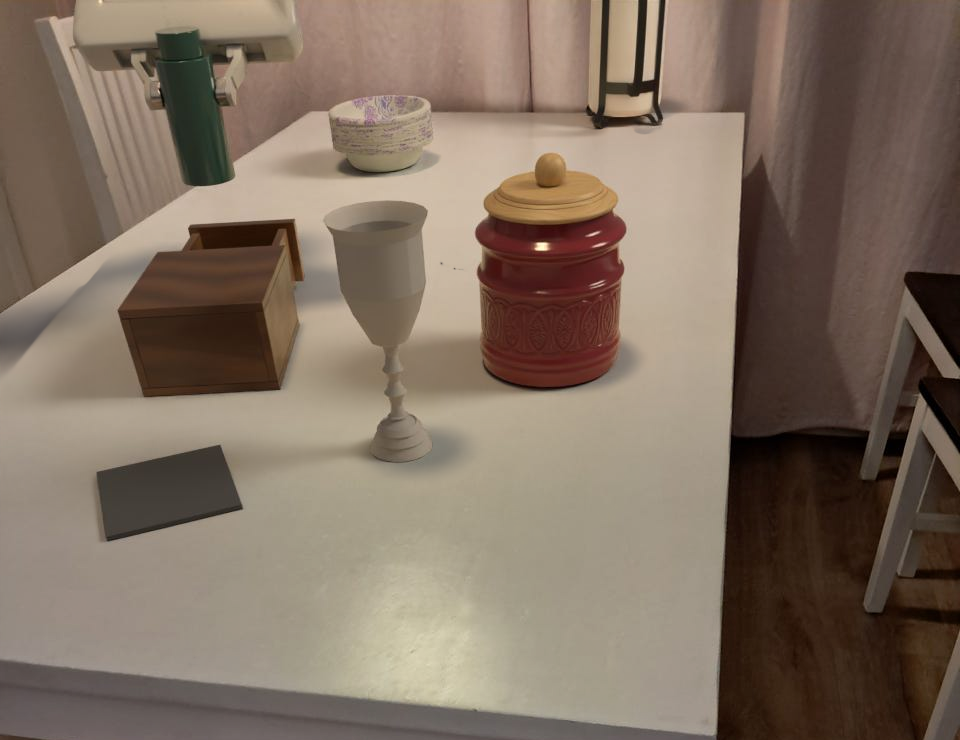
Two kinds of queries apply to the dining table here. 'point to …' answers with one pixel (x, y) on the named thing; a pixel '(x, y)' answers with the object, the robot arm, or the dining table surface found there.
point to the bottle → (193, 107)
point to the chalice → (385, 301)
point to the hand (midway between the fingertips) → (191, 104)
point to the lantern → (626, 59)
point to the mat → (166, 492)
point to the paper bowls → (381, 131)
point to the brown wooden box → (211, 321)
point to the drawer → (250, 239)
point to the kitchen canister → (550, 277)
